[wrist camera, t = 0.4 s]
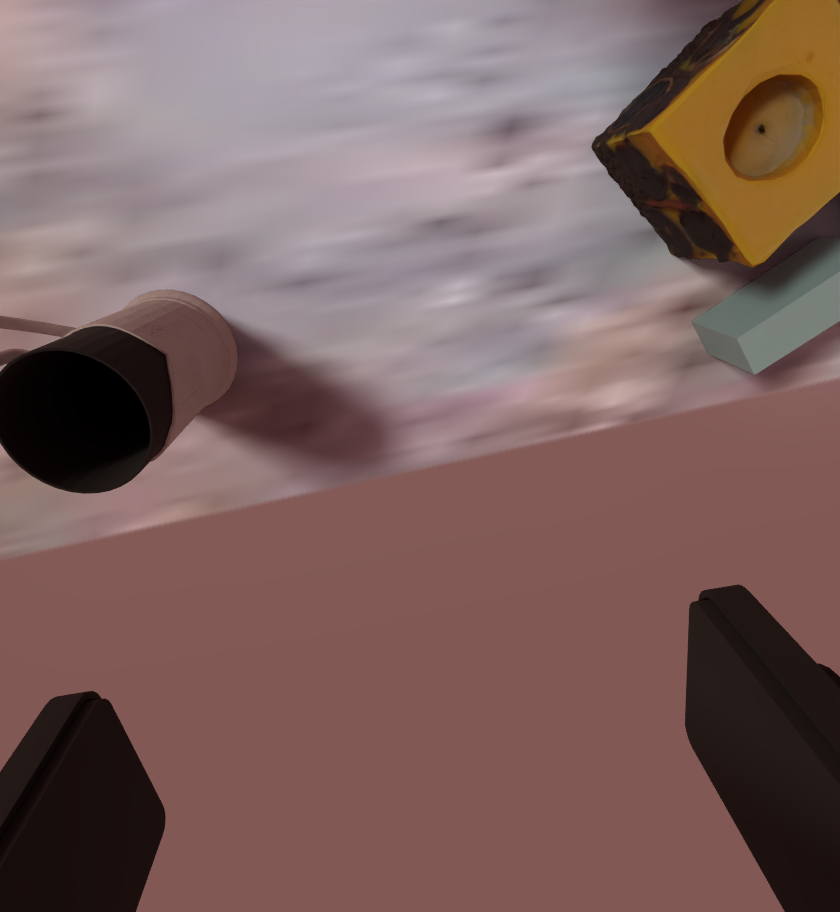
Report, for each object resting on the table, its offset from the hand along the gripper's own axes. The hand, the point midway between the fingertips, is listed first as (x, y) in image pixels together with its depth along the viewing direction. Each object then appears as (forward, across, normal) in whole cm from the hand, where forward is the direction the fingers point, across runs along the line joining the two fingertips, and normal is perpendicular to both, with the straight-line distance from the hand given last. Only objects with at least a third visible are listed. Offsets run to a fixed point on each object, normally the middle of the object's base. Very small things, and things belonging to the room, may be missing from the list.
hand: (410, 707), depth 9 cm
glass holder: (+35, +18, -2) cm, 40 cm away
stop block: (+35, -27, +3) cm, 44 cm away
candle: (+36, -22, -8) cm, 42 cm away
